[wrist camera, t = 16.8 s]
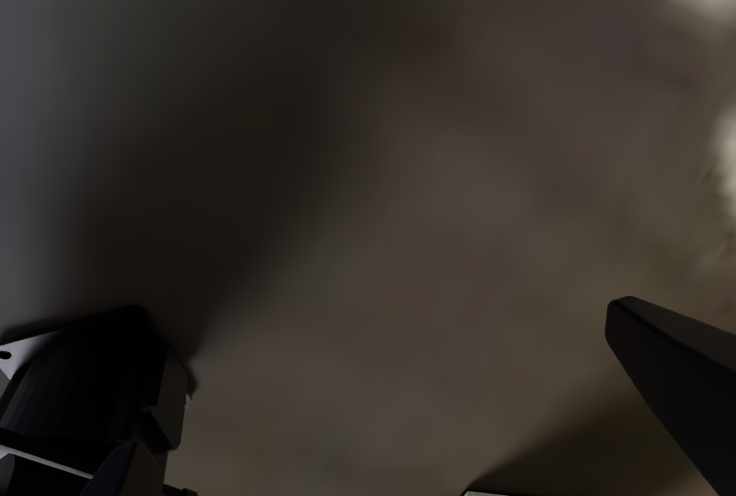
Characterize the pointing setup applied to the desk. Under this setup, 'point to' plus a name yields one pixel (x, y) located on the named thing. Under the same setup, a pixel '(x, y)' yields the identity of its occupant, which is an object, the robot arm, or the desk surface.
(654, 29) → the desk surface
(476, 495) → the tea box
